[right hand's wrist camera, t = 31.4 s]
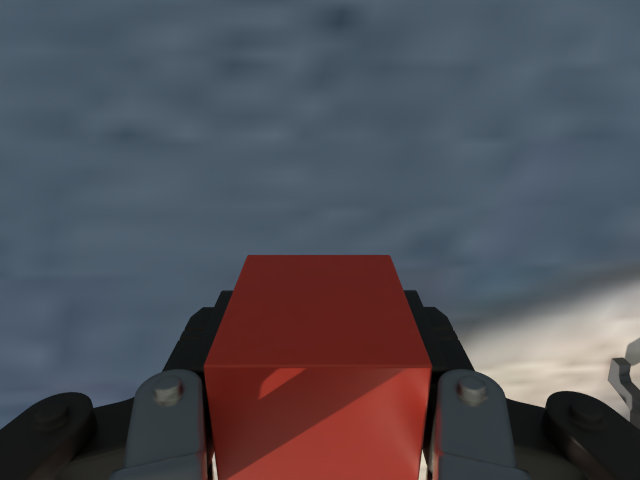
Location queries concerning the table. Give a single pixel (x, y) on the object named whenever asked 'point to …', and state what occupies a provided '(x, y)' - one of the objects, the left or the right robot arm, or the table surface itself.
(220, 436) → the block
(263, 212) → the table surface
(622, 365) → the toy
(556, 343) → the table surface
